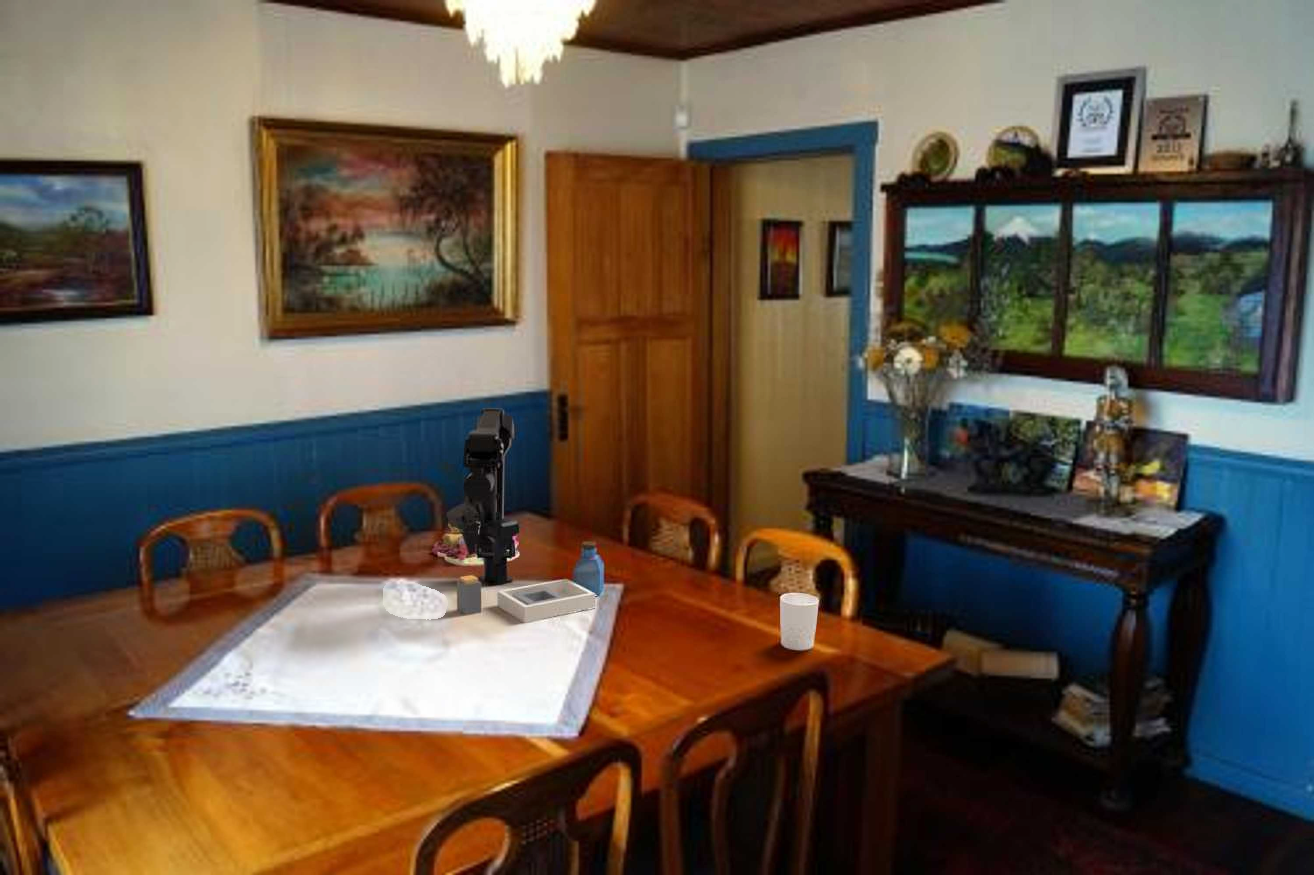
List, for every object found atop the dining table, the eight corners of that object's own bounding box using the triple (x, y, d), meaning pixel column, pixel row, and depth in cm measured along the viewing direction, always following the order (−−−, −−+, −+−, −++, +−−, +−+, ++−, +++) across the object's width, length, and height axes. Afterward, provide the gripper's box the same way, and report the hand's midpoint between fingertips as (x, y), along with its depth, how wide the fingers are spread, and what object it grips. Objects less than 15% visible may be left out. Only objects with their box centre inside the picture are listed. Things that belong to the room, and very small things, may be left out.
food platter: (416, 549, 283) (415, 516, 281) (489, 535, 299) (489, 503, 297) (467, 571, 265) (467, 536, 263) (542, 555, 281) (543, 521, 279)
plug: (457, 610, 235) (456, 576, 234) (473, 607, 237) (473, 574, 236) (464, 615, 232) (464, 581, 231) (481, 612, 234) (481, 578, 233)
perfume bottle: (603, 588, 253) (604, 540, 251) (599, 596, 247) (600, 547, 245) (578, 587, 254) (578, 539, 251) (573, 595, 247) (574, 546, 245)
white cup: (819, 641, 222) (821, 595, 220) (812, 654, 214) (814, 607, 213) (782, 635, 224) (784, 590, 223) (774, 648, 217) (776, 602, 215)
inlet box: (497, 605, 239) (497, 591, 238) (566, 592, 249) (566, 578, 248) (524, 622, 228) (524, 607, 228) (595, 608, 239) (595, 593, 238)
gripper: (427, 487, 230) (428, 556, 233) (479, 503, 218) (479, 575, 220) (469, 480, 238) (469, 547, 241) (521, 495, 226) (521, 565, 228)
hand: (483, 558), depth 233 cm, fingers open, 9 cm apart
